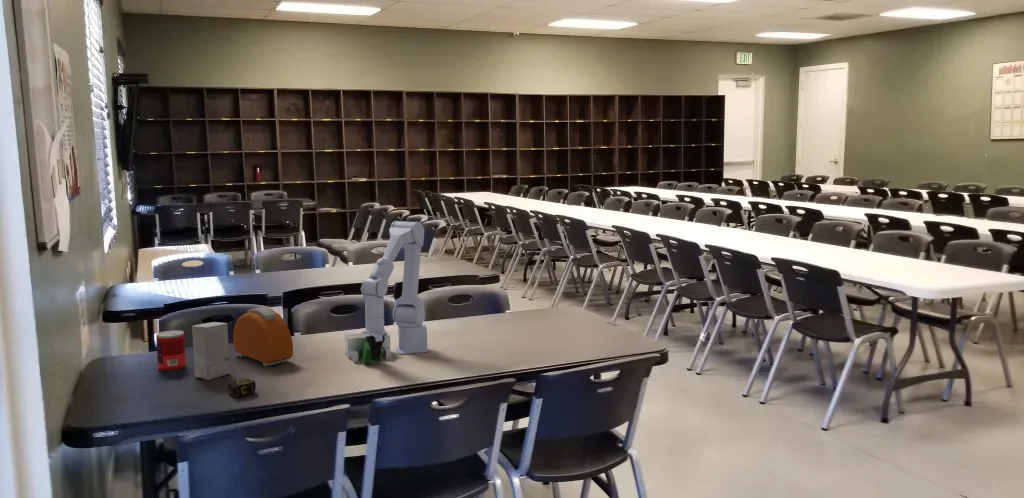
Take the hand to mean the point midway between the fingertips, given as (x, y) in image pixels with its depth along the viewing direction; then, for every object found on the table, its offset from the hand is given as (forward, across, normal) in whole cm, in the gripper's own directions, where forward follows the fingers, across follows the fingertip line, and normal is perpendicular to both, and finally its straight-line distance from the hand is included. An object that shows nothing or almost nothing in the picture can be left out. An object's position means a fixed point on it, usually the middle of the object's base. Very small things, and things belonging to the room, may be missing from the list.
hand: (375, 358), depth 237 cm
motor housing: (+2, -12, 0) cm, 13 cm away
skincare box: (+3, -6, -48) cm, 49 cm away
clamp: (+3, -6, 0) cm, 7 cm away
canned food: (+3, -20, -60) cm, 63 cm away
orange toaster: (+3, -20, -33) cm, 39 cm away
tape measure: (+3, +15, -40) cm, 43 cm away
